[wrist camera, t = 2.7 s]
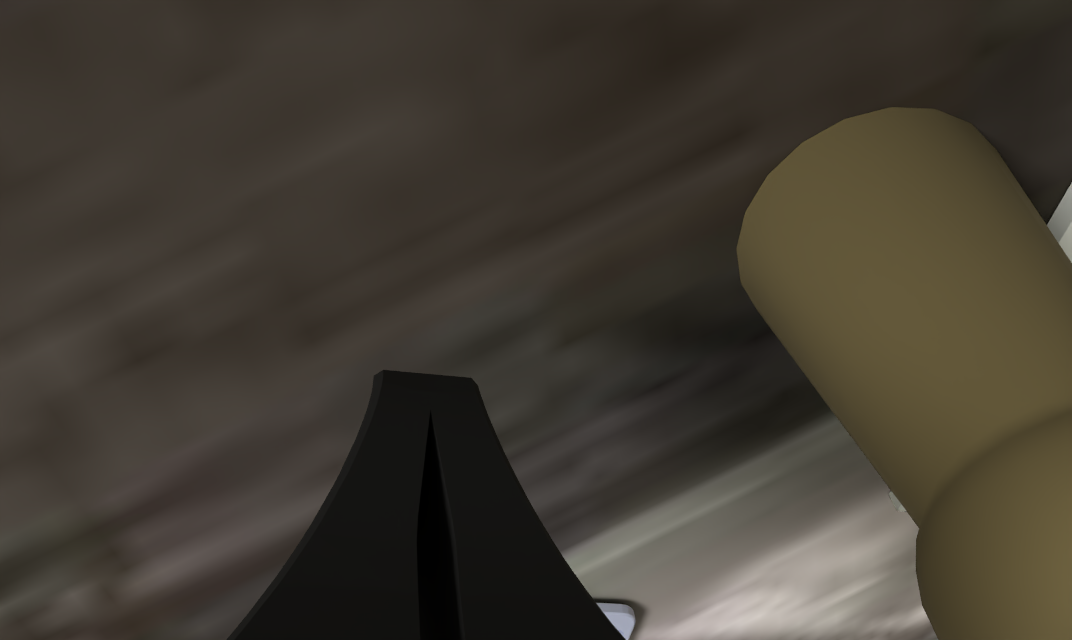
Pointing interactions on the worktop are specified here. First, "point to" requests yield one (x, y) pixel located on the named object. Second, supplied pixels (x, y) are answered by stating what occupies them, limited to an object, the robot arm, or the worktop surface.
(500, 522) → the robot arm
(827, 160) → the cork
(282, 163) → the worktop surface
